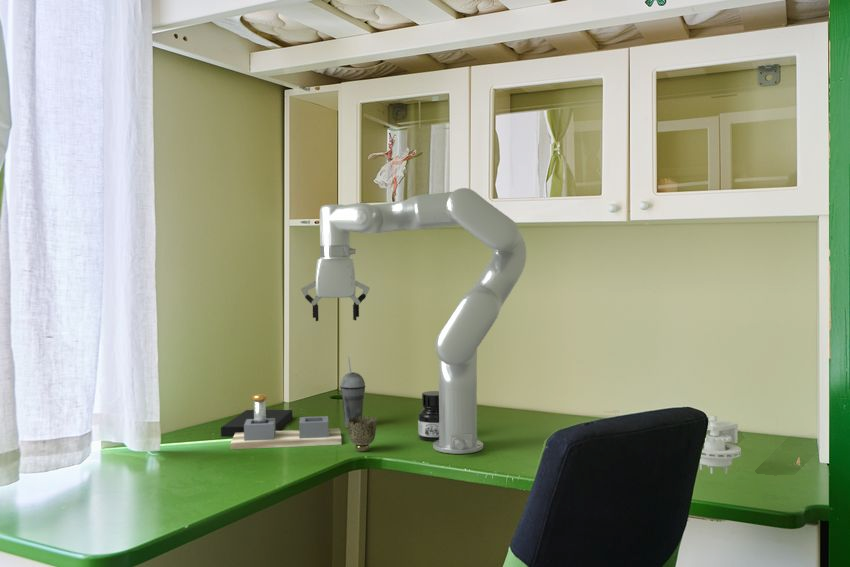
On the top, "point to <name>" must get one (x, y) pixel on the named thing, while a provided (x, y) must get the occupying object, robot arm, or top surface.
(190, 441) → the top surface
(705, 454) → the mechanical part
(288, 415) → the external hard drive
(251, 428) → the dock socket
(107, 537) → the top surface
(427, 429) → the ink bottle
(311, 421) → the lock mount
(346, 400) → the beverage cup
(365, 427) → the cup
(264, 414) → the pin
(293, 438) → the dock board
